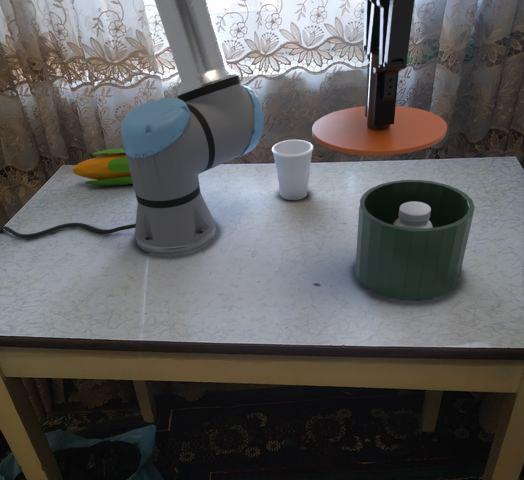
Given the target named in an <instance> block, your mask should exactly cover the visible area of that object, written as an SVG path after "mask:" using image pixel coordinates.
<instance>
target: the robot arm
mask: <svg viewBox="0 0 524 480" xmlns="http://www.w3.org/2000/svg"><path fill="white" fill-rule="evenodd" d="M415 2H416V1H415V0H364V12H363V13H364V15H363V45H362V51H363V53H364V54H366V56H365V59H366V61H367V62H368V63H367V69H366V84H365V85H366V87H365V104H364V106H365V116H366V117H367V109H368V91H369V74H370V57H371V52H372V51H374V50H379V49H380V50H379V67H376V68H373V72H374V74H376V77H375V92H374V107H373V123H372V125H373V126H382V125H391V124H394V118H395V107H396V106H397V96H398V95H397V94H398V83H399V73H400V72H401V70H404V69H406V68H407V66H408V65H407V64H408V58H409V57H408V56H409V49H410V40H411V33H412V24H413V15H414V8H415ZM154 3H155V6H156V9H157V12H158V15H159V18H160V22H161V24H162V27H163V30H164V33H165V37H166V40H167V43H168V45H169V49H170V52H171V54H172V58H173V60H174V63H175V67H176V70H177V73H178V76H179V80H180V85H179V88H178V90H177V92H176V97H177V98H176V97H162V98H160V99H157V100H156V99H153V100H149V101H146V102H144V103H141V104H139V105H136V106H135V107H133V108H132V109H131V110H129V111H128V112H127V113H126V114H125V116H124V117H123V118H122V121H121V124H120V131H121V132H120V133H121V140H122V148H123V149H124V152H125V153H126V157H127V161H128V165H129V170H130V174H131V178H132V182H133V184H132V186H133V190H134V193H135V194H134V195H135V197H136V202H137V203H136V204H137V207H136V216H135V223H131V224H126V225H121V226H117V227H114V228H110V229H102V228H97V227H94V226H92V225H89V224H87V223H84V222H69V223H68V222H67V223H62V224H59V225H56V226H53V227H50V228H47V229H44V230H41V231H37V232H33V233H19V232H17V231H16V230H13V229H12V228H10V227H8V226H6V225H4V226H1V227H0V234H2V233H3V232H4V231H6V232H8V233H9V234H11V233H12V234H11V235H13V236H15V238H16V237H17V238H20V239H32V238H38V237H41V236H44V235H47V234H50V233H53V232H55V231H60V230H62V229H66V228H83V229H86V230H89V231H92V232H94V233H98V234H105V235H107V234H108V235H109V234H113V233H117V232H121V231H126V230H132V229H134V236H135V240H136V245H137V246H138V247H139V249H141V250H142V251H144V252H145V253H148V254H149V253H152V254H157V255H178V254H182V253H183V254H185V253H187V252H191V251H194V250H196V249H199V248H201V247H203V246H204V245H206V244H208V243H209V242H210V241H211V240H212V239H213V238H214V236H215V235H216V229H217V228H216V222H215V218H214V216H213V215H212V213H211V211H210V209H209V207H208V205H207V203H206V201H205V199H204V197H203V195H202V192H201V187H200V180H199V175H200V174H202V173H204V172H206V171H209V170H212V169H213V168H216V167H219V166H221V165H222V164H225V163H228V162H230V161H232V160H236V159H237V160H238V159H240V158H242V157H243V156H244V155H246V154H248V153H249V152H251V151H253V150H254V149H255V148H256V147H257V146H258V144H259V143H260V141H261V137H262V136H263V133H264V124H265V119H264V118H265V117H264V111H263V106H262V103H261V101H260V99H259V97H258V95H257V94H256V93H254V90H253V89H252V88H251V87H249V86H248V85H244V84H242V82H241V79H240V75H239V73H238V72H237V71H235V70H233V69H232V68H230V67H229V66H228V64H227V61H226V58H225V54H224V51H223V48H222V43H221V41H220V37H219V34H218V30H217V27H216V23H215V20H214V16H213V13H212V9H211V6H210V2H209V0H154ZM3 229H5V230H3Z"/></svg>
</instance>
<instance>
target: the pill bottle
mask: <svg viewBox="0 0 524 480" xmlns="http://www.w3.org/2000/svg"><path fill="white" fill-rule="evenodd" d="M430 213H431V208H430V206H429V205H427V204H425V203H422V202H406V203H404V204H402V205H401V206H400V209H399V218H398V219H397V220H396V221H395V222H394V224H393V225H396V226H400V227H407V228H433V226H432V223H431V222H430V221H429V218H430Z"/></svg>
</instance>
